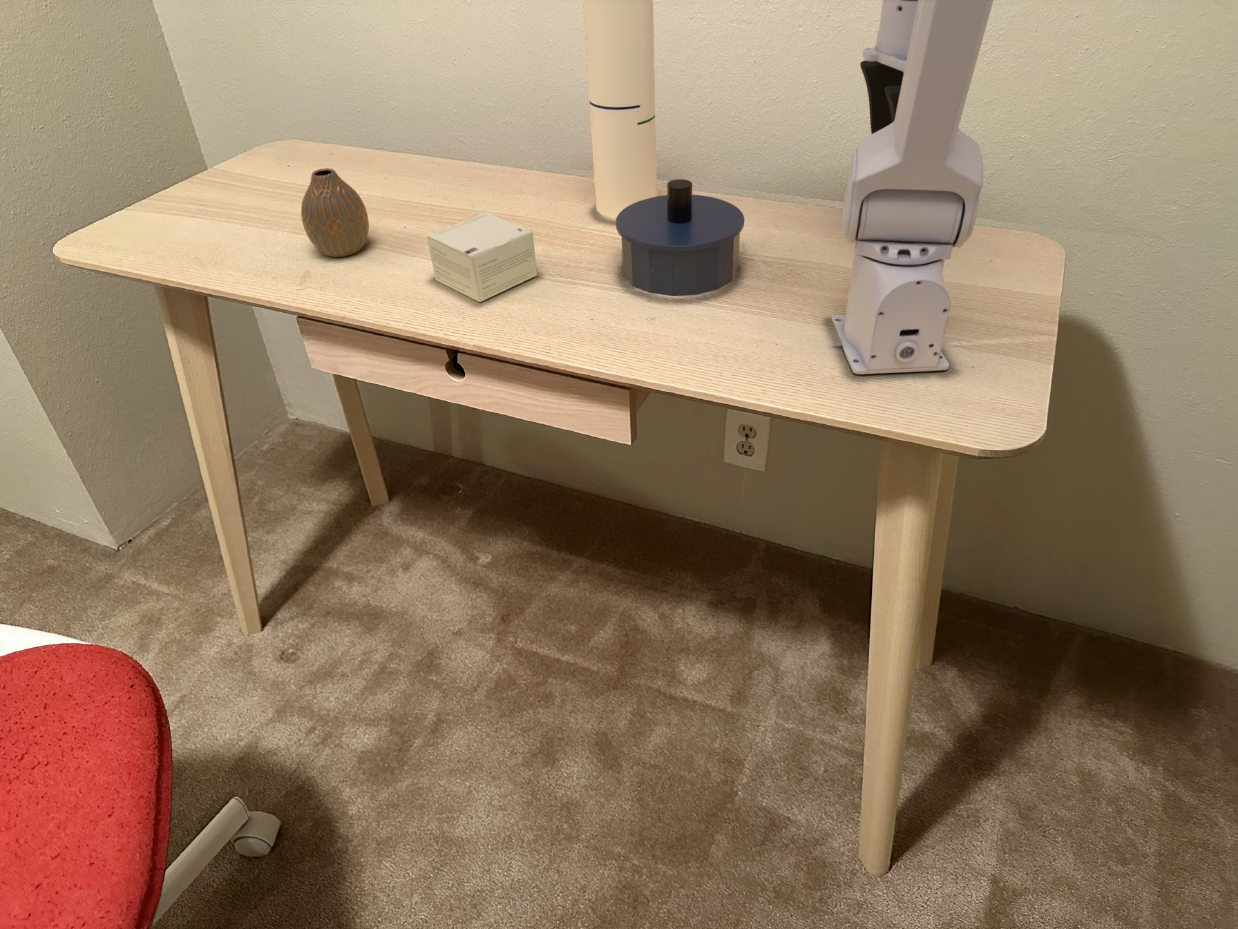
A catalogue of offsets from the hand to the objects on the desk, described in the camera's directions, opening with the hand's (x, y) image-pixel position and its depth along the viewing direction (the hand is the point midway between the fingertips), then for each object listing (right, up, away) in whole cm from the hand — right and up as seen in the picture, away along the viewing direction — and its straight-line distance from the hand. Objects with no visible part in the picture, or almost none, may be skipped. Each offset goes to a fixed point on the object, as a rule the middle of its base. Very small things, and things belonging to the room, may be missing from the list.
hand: (893, 151), depth 83 cm
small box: (-40, -11, +6) cm, 42 cm away
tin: (-20, -11, +4) cm, 24 cm away
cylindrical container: (-26, -1, +18) cm, 31 cm away
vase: (-58, -7, +13) cm, 59 cm away
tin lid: (-21, -7, +1) cm, 22 cm away
